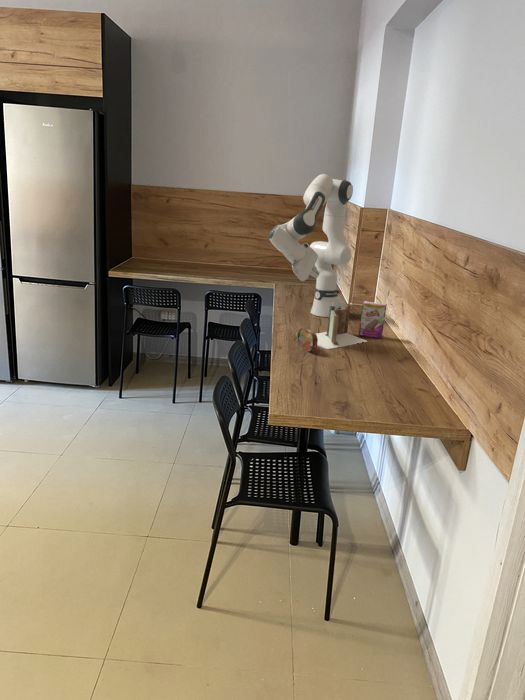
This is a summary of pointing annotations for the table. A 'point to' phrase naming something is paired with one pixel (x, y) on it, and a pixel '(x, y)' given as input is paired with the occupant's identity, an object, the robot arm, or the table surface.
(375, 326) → the candy bar box
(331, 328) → the fence panel
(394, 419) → the table surface
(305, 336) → the tin
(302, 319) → the table surface
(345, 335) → the card
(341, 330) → the fence
